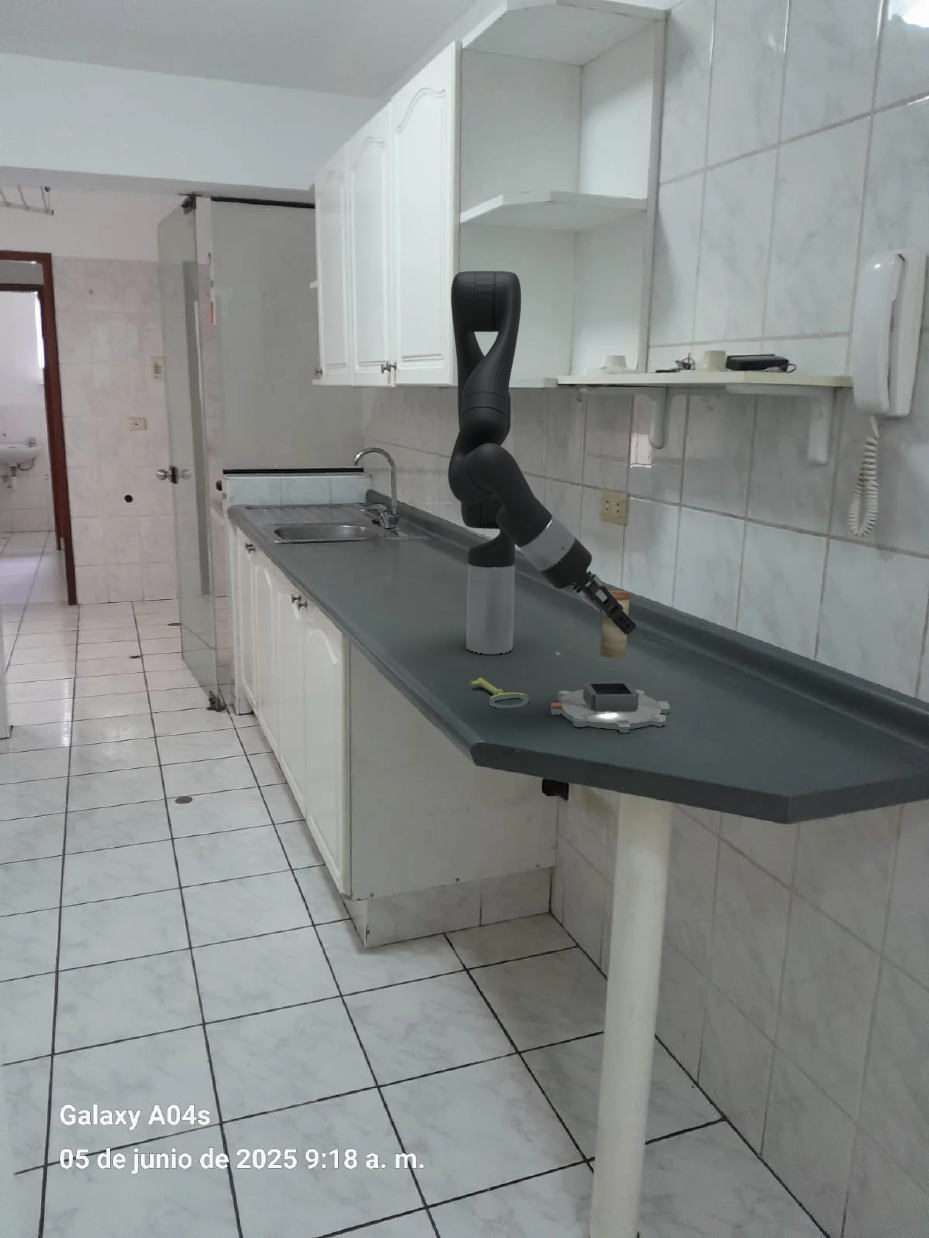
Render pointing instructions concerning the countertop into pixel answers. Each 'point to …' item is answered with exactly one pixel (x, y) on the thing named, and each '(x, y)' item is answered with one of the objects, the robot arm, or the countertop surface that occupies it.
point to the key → (491, 687)
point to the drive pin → (614, 630)
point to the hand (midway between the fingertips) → (625, 626)
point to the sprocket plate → (610, 704)
